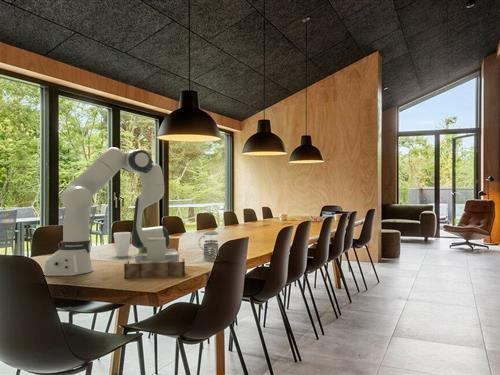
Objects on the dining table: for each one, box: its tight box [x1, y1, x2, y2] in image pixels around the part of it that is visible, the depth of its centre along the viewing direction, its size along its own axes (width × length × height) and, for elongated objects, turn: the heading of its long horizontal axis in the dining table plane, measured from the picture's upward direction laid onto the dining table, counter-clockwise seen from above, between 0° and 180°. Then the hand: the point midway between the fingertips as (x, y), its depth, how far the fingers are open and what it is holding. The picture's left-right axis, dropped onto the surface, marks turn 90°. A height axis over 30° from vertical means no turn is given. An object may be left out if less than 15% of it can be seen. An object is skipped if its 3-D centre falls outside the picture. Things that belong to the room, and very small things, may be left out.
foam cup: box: [113, 231, 132, 258], centre depth 242 cm, size 10×9×13 cm
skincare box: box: [146, 237, 166, 261], centre depth 190 cm, size 8×7×16 cm
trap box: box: [123, 258, 186, 279], centre depth 184 cm, size 25×9×7 cm, turn 99°
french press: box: [198, 212, 220, 262], centre depth 227 cm, size 10×12×25 cm
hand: (156, 260), depth 193 cm, fingers closed, pressing on skincare box
